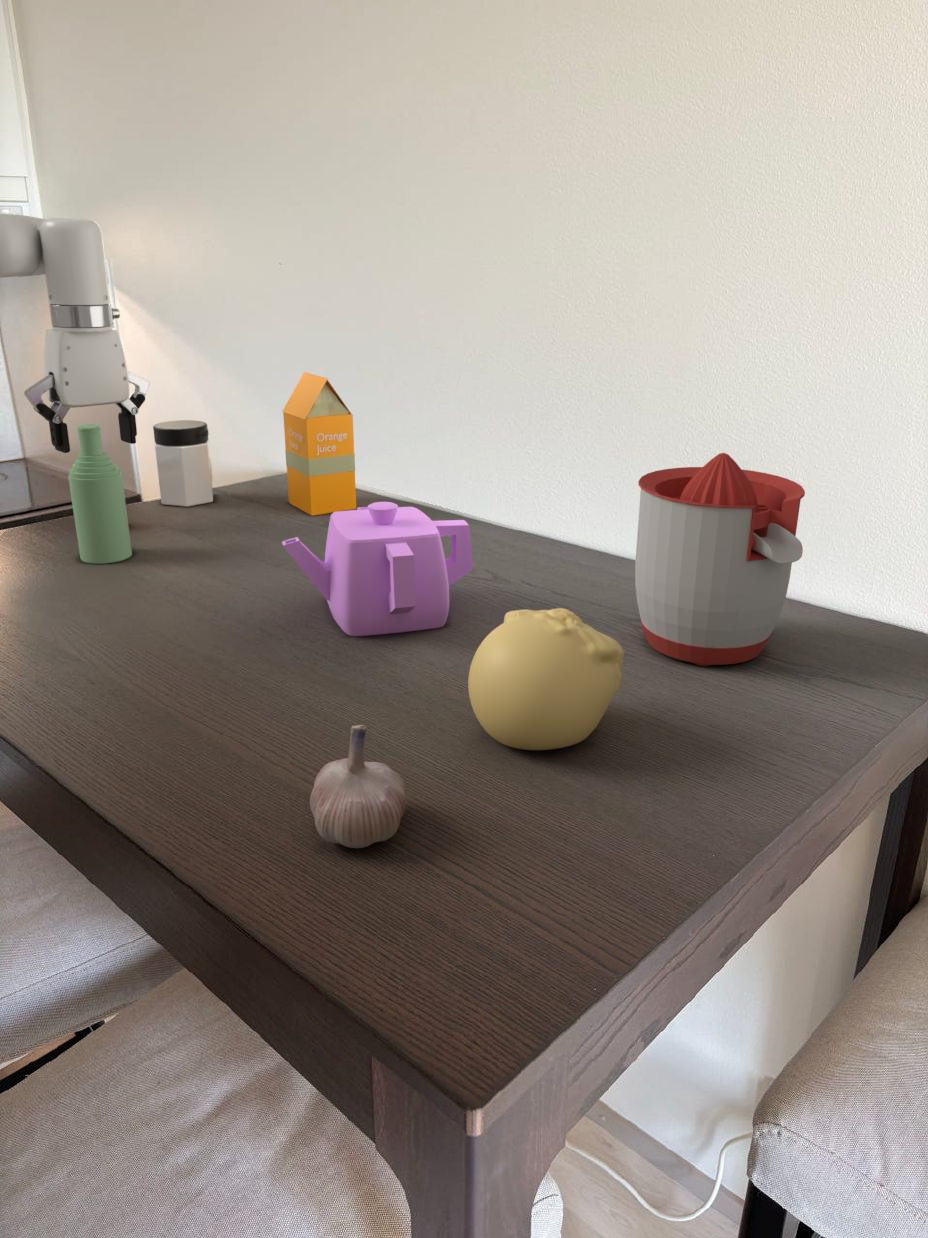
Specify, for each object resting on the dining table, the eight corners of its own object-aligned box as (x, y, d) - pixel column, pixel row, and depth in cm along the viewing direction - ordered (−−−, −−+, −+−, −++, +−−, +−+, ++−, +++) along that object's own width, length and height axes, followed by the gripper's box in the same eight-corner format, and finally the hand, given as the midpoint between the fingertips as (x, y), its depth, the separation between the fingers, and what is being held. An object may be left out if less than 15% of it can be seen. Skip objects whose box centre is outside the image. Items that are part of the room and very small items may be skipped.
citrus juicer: (714, 698, 87) (738, 482, 80) (596, 634, 101) (607, 446, 94) (830, 662, 94) (862, 462, 87) (705, 608, 108) (723, 431, 101)
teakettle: (412, 652, 96) (410, 534, 92) (277, 622, 104) (269, 512, 99) (487, 600, 110) (488, 496, 106) (363, 577, 118) (360, 478, 113)
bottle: (70, 561, 123) (49, 429, 117) (98, 547, 129) (80, 420, 122) (114, 565, 122) (96, 431, 115) (141, 550, 127) (125, 422, 121)
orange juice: (332, 496, 155) (326, 370, 147) (357, 508, 148) (352, 376, 140) (287, 503, 151) (279, 373, 143) (310, 515, 144) (303, 380, 136)
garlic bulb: (364, 787, 72) (361, 692, 70) (435, 824, 68) (434, 724, 65) (286, 830, 67) (278, 729, 64) (357, 873, 63) (352, 766, 60)
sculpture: (637, 732, 81) (647, 614, 77) (541, 783, 73) (546, 654, 69) (537, 689, 89) (541, 579, 85) (441, 731, 81) (441, 612, 77)
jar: (214, 505, 149) (206, 428, 145) (159, 508, 147) (150, 430, 143) (214, 492, 157) (208, 418, 153) (163, 494, 155) (155, 420, 151)
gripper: (127, 314, 135) (139, 435, 141) (3, 318, 123) (22, 450, 130) (155, 318, 130) (166, 443, 137) (28, 323, 119) (47, 459, 125)
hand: (96, 446), depth 133 cm, fingers open, 9 cm apart
